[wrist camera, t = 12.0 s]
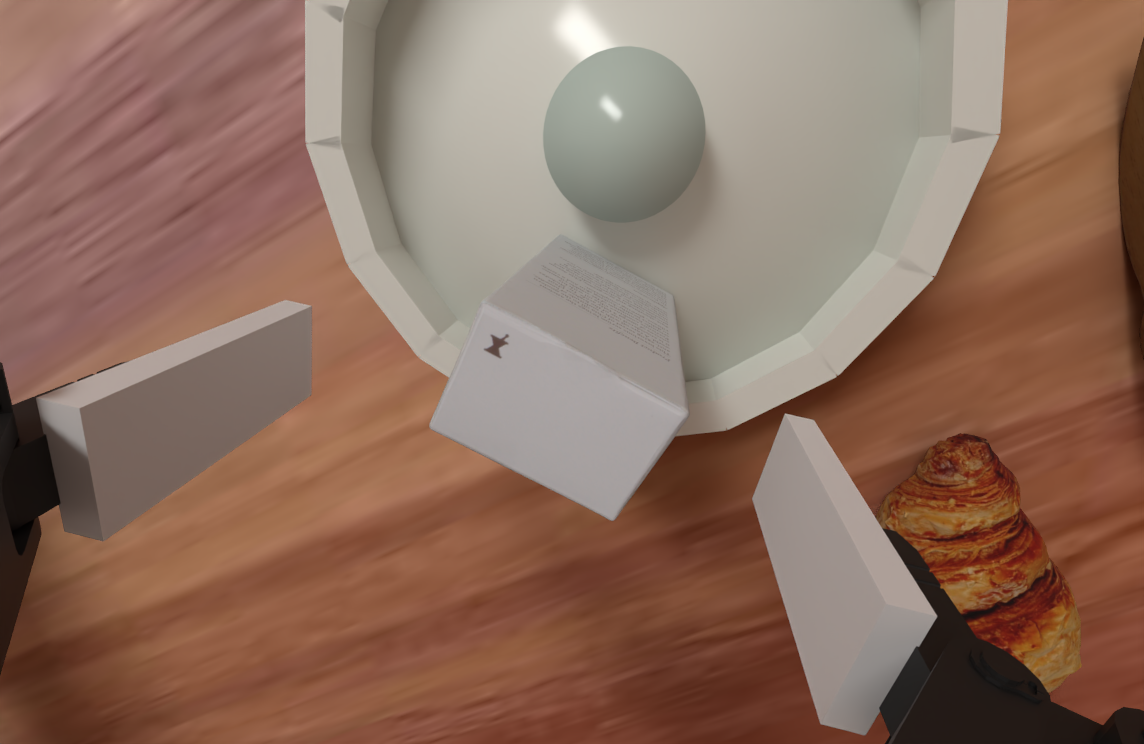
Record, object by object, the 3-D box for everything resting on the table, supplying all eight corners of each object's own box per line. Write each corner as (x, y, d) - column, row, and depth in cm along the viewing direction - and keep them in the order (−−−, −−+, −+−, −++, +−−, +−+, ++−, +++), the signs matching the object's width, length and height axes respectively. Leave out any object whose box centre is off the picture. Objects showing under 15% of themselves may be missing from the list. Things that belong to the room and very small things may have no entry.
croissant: (945, 675, 36) (1091, 795, 28) (821, 747, 33) (945, 898, 26) (964, 380, 28) (1169, 441, 21) (805, 444, 26) (975, 539, 18)
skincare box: (520, 312, 26) (418, 427, 15) (560, 231, 24) (478, 292, 13) (632, 372, 26) (614, 529, 15) (679, 296, 24) (696, 410, 13)
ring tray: (345, 344, 29) (306, 368, 26) (362, -304, 19) (304, -396, 16) (814, 456, 27) (834, 495, 24) (1088, -191, 18) (1183, -268, 15)
